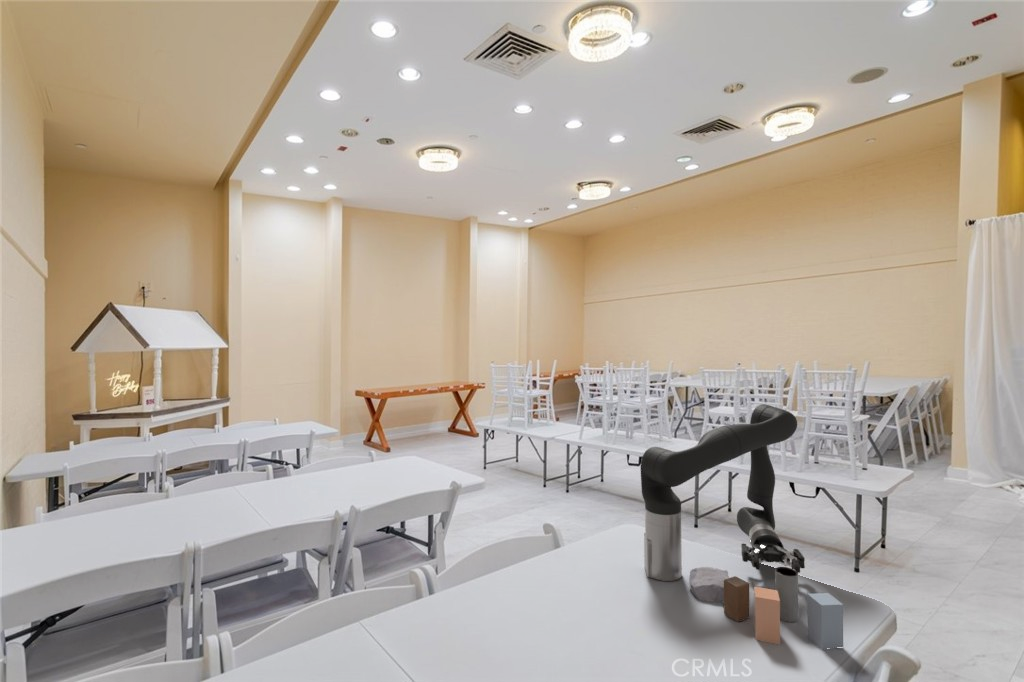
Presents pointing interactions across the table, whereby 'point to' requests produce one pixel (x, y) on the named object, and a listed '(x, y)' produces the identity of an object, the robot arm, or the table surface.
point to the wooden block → (736, 599)
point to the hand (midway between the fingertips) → (777, 568)
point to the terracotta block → (767, 615)
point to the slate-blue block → (825, 620)
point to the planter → (787, 593)
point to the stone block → (708, 583)
